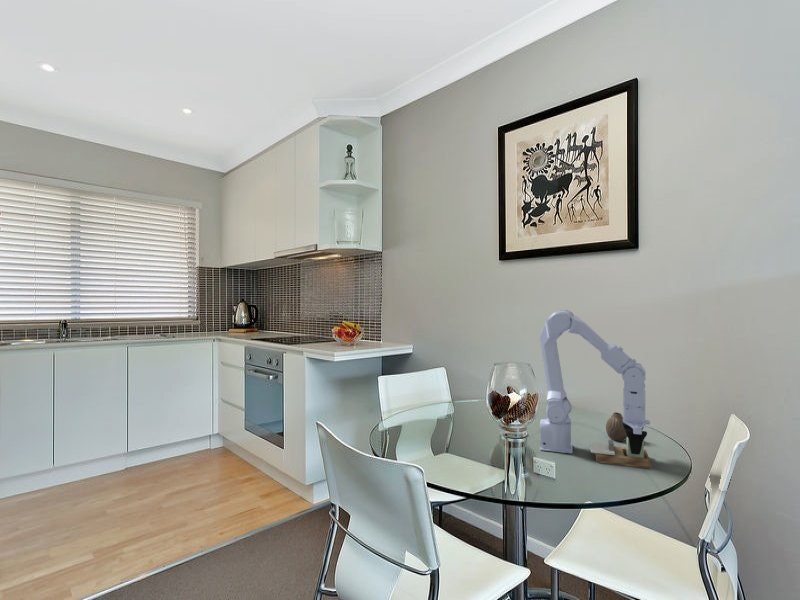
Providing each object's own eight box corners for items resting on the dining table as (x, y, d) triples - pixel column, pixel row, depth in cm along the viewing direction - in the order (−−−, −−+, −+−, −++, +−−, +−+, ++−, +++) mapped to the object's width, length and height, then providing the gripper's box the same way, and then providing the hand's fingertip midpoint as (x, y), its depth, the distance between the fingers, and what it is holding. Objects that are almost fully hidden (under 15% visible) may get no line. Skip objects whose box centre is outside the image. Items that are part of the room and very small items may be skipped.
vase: (631, 443, 143) (631, 416, 142) (609, 442, 144) (608, 415, 144) (625, 436, 149) (625, 410, 149) (603, 435, 151) (603, 410, 150)
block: (628, 458, 127) (628, 441, 127) (626, 453, 131) (626, 437, 131) (643, 460, 126) (643, 443, 126) (641, 455, 129) (641, 438, 129)
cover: (590, 452, 129) (590, 444, 129) (589, 443, 136) (589, 435, 136) (614, 455, 127) (614, 446, 127) (612, 445, 134) (612, 437, 134)
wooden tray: (596, 462, 128) (596, 454, 128) (594, 451, 136) (594, 444, 136) (650, 468, 123) (650, 460, 123) (645, 456, 131) (645, 449, 131)
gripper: (654, 413, 120) (654, 462, 120) (646, 400, 133) (646, 444, 134) (625, 410, 122) (625, 458, 123) (620, 398, 136) (620, 441, 136)
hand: (634, 450), depth 128 cm, fingers closed on block, 4 cm apart
